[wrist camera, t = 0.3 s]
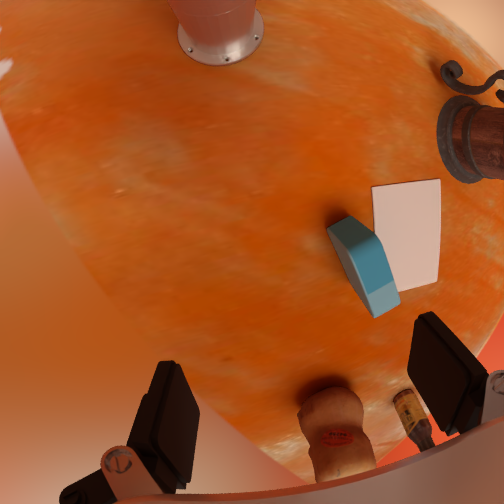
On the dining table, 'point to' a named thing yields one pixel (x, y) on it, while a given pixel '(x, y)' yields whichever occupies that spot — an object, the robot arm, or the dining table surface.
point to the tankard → (471, 130)
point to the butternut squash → (336, 434)
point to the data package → (365, 265)
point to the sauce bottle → (414, 419)
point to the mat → (409, 230)
